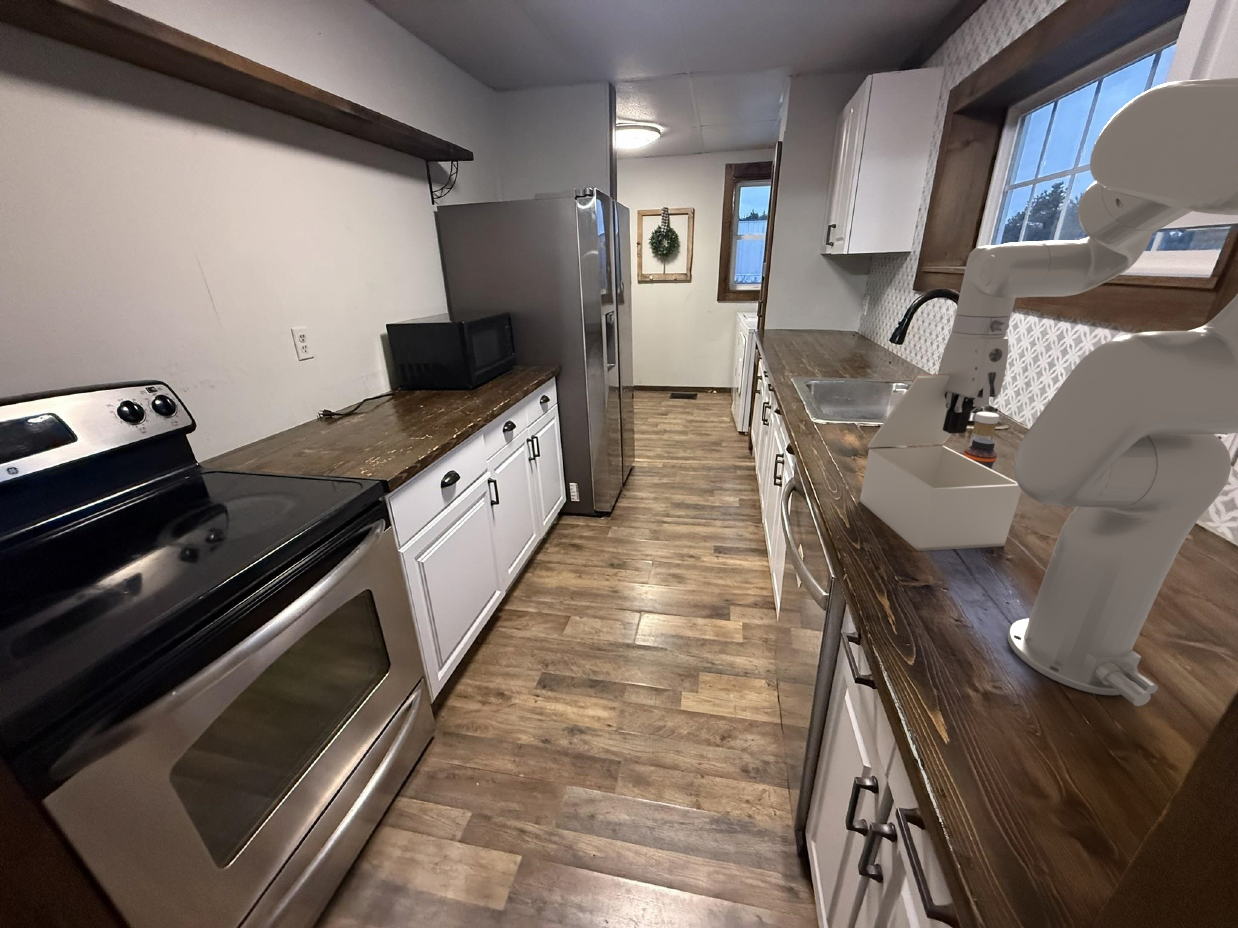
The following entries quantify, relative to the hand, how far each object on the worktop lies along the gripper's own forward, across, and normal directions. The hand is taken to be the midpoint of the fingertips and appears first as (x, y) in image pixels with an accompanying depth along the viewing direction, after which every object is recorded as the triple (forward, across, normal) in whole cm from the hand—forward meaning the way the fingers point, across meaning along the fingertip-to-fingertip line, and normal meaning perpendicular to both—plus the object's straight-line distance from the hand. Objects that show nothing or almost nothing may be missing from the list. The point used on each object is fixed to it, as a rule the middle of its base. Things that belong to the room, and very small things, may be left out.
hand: (953, 431), depth 88 cm
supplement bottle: (+20, +16, -20) cm, 32 cm away
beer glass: (+20, +45, -20) cm, 53 cm away
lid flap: (-1, +6, 0) cm, 7 cm away
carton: (+19, +2, 0) cm, 19 cm away
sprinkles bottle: (+20, +28, -30) cm, 45 cm away
